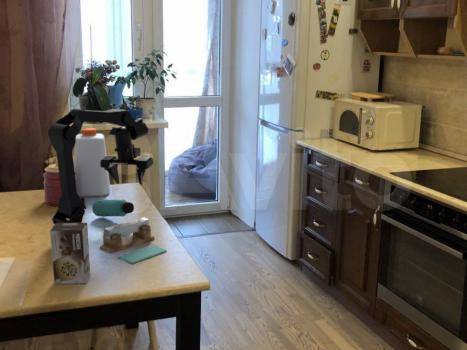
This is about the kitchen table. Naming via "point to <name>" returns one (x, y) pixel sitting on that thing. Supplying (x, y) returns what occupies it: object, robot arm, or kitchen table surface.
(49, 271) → the kitchen table surface
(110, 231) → the rail
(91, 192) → the plastic bottle
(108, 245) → the rack
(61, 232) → the coffee box
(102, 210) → the beverage bottle
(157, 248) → the mat
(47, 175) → the canister
